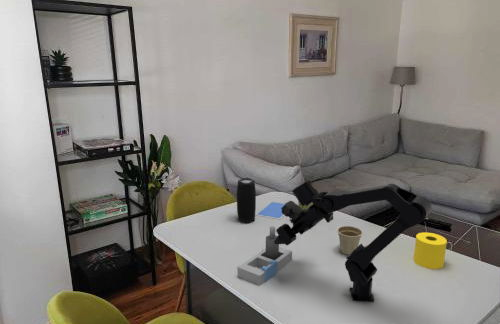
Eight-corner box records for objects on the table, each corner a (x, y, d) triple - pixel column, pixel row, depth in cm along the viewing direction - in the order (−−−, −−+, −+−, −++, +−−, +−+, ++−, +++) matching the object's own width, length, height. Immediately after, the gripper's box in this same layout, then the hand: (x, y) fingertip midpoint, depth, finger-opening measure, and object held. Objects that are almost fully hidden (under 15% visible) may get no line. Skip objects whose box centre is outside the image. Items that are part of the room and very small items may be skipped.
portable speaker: (236, 224, 172) (236, 183, 167) (237, 216, 181) (237, 177, 176) (255, 224, 171) (255, 183, 167) (255, 216, 181) (255, 177, 176)
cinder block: (292, 259, 140) (293, 248, 139) (260, 285, 124) (260, 273, 123) (271, 252, 146) (271, 241, 145) (237, 276, 129) (237, 264, 128)
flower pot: (362, 258, 141) (363, 237, 139) (336, 256, 143) (337, 235, 141) (360, 247, 150) (361, 226, 148) (335, 244, 152) (337, 225, 150)
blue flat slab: (279, 221, 176) (279, 218, 176) (255, 216, 182) (255, 214, 181) (294, 207, 193) (294, 205, 193) (271, 203, 198) (271, 201, 198)
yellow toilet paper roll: (437, 255, 143) (440, 232, 141) (448, 269, 133) (451, 245, 131) (409, 254, 144) (412, 232, 142) (418, 268, 134) (421, 244, 132)
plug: (278, 266, 135) (279, 230, 132) (265, 266, 136) (265, 230, 132) (278, 260, 140) (279, 225, 137) (265, 259, 141) (266, 224, 137)
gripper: (310, 189, 133) (282, 211, 142) (282, 204, 118) (253, 228, 127) (329, 215, 130) (299, 236, 140) (303, 234, 116) (272, 256, 125)
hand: (281, 238), depth 133 cm, fingers open, 9 cm apart
